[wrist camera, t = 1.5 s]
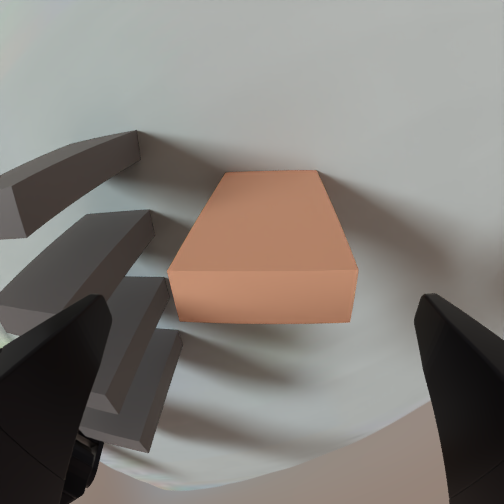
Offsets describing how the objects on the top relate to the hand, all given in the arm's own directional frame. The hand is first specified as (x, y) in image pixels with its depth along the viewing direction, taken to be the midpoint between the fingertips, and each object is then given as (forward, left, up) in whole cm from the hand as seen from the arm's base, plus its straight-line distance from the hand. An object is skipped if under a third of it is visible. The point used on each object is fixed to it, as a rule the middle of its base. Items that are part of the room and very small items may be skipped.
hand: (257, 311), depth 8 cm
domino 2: (-2, +10, -10) cm, 15 cm away
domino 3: (-7, +10, -10) cm, 16 cm away
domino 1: (+3, +10, -10) cm, 15 cm away
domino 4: (-12, +10, -10) cm, 19 cm away
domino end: (0, 0, -10) cm, 10 cm away
